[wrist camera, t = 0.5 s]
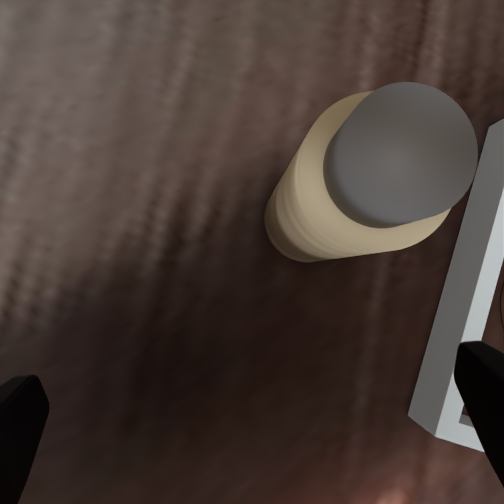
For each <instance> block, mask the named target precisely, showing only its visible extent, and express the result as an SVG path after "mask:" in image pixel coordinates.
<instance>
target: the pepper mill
mask: <svg viewBox="0 0 504 504" xmlns="http://www.w3.org/2000/svg"><path fill="white" fill-rule="evenodd" d="M477 160H478V146H477V140H476V136H475V133H474V129H473V127H472V125H471V123H470V120H469V119H468V117H467V115H466V114H465V112H464V111H463V110H462V109H461V107H460V106H459V105H458V104H457V103H456V102H455V101H454V100H453V99H452V98H450V97H449V96H448V95H446V94H445V93H443V92H442V91H440V90H438V89H436V88H433V87H431V86H428V85H425V84H421V83H414V82H400V83H394V84H390V85H386V86H384V87H381V88H379V89H377V90H375V91H370V92H362V93H358V94H354V95H351V96H349V97H346V98H344V99H342V100H340V101H338V102H336V103H335V104H333V105H332V106H331V107H329V108H328V109H327V110H326V111H325V112H324V113H323V114H322V115H321V116H320V117H319V118H318V119H317V120H316V122H315V123H314V124H313V126H312V128H311V129H310V131H309V133H308V134H307V136H306V138H305V139H304V141H303V143H302V144H301V146H300V148H299V149H298V151H297V153H296V154H295V156H294V158H293V159H292V161H291V163H290V164H289V166H288V168H287V170H286V171H285V173H284V175H283V176H282V178H281V180H280V181H279V183H278V185H277V186H276V188H275V190H274V191H273V193H272V195H271V196H270V198H269V200H268V202H267V205H266V208H265V212H264V226H265V230H266V234H267V236H268V238H269V240H270V242H271V244H272V245H273V246H274V247H275V248H276V249H277V250H278V251H279V252H280V253H281V254H282V255H284V256H286V257H287V258H289V259H292V260H295V261H299V262H316V261H323V260H330V259H337V258H344V257H351V256H358V255H366V254H373V253H380V252H387V251H394V250H400V249H403V248H407V247H410V246H412V245H414V244H416V243H418V242H420V241H422V240H423V239H425V238H426V237H428V236H429V235H430V234H431V233H433V232H434V231H435V230H436V229H437V228H438V227H439V226H440V224H441V223H442V222H443V221H444V219H445V218H446V216H447V215H448V213H449V211H450V209H451V207H452V206H453V205H455V204H456V203H457V202H458V201H459V200H460V199H461V198H462V197H463V196H464V194H465V193H466V191H467V190H468V188H469V187H470V185H471V183H472V181H473V178H474V175H475V172H476V167H477Z"/></svg>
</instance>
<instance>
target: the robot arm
mask: <svg viewBox="0 0 504 504" xmlns="http://www.w3.org/2000/svg"><path fill="white" fill-rule="evenodd" d="M454 380H455V384H456V386H457V389H458V391H459V393H460V396H461V398H462V400H463V403H464V405H465V407H466V410H467V412H468V415H469V417H470V419H471V422H472V424H473V426H474V429H475V431H476V433H477V436H478V438H479V441H480V443H481V445H482V447H483V449H484V452H485V454H486V456H487V458H488V459H489V461H490V463H491V465H492V467H493V469H494V471H495V473H496V474H497V476H498V478H499V480H500V482H501V483H502V485H503V487H504V352H502V351H500V350H498V349H496V348H494V347H492V346H490V345H489V344H487V343H485V342H483V341H465V342H461V343H460V344H459V346H458V349H457V355H456V360H455V366H454ZM48 414H49V401H48V398H47V396H46V394H45V391H44V389H43V387H42V384H41V382H40V379H39V378H38V377H37V376H36V375H33V374H30V375H18V376H15V377H13V378H11V379H10V380H8V381H7V382H5V383H4V384H2V385H1V386H0V504H18V502H19V499H20V497H21V495H22V492H23V490H24V487H25V485H26V482H27V479H28V476H29V473H30V470H31V467H32V464H33V461H34V458H35V455H36V452H37V448H38V445H39V442H40V439H41V436H42V433H43V430H44V426H45V423H46V420H47V417H48Z"/></svg>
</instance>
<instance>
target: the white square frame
mask: <svg viewBox="0 0 504 504" xmlns="http://www.w3.org/2000/svg"><path fill="white" fill-rule="evenodd" d="M503 258H504V119H502V120H501V121H499V122H497V123H495V124H493V125H492V126H490V127H489V129H488V132H487V136H486V139H485V143H484V146H483V150H482V153H481V157H480V160H479V164H478V168H477V171H476V175H475V178H474V182H473V185H472V189H471V192H470V196H469V199H468V203H467V206H466V210H465V214H464V217H463V221H462V224H461V228H460V231H459V235H458V238H457V242H456V245H455V249H454V252H453V256H452V259H451V263H450V267H449V270H448V274H447V277H446V281H445V284H444V288H443V291H442V295H441V298H440V302H439V305H438V309H437V313H436V316H435V320H434V323H433V327H432V330H431V334H430V337H429V341H428V344H427V348H426V351H425V355H424V358H423V362H422V366H421V369H420V373H419V376H418V380H417V383H416V387H415V390H414V394H413V397H412V401H411V404H410V408H409V412H408V415H407V416H409V417H410V418H411V419H413V420H414V421H415V422H417V423H418V424H419V425H420V426H422V427H423V428H424V429H426V430H427V431H428V432H429V433H431V434H432V435H433V436H435V437H438V438H441V439H444V440H447V441H450V442H454V443H457V444H460V445H463V446H467V447H470V448H473V449H476V450H479V451H483V452H484V449H483V447H482V445H481V443H480V441H479V438H478V436H477V433H476V431H475V429H474V426H473V424H472V422H471V419H470V417H469V416H466V415H463V414H461V412H462V408H463V405H464V403H463V400H462V398H461V396H460V393H459V391H458V389H457V386H456V384H455V380H454V366H455V360H456V355H457V349H458V346H459V344H460V343H461V342H465V341H481V339H482V335H483V331H484V328H485V324H486V320H487V317H488V313H489V309H490V306H491V302H492V298H493V295H494V291H495V287H496V284H497V280H498V276H499V273H500V269H501V265H502V262H503ZM501 316H502V322H503V326H504V285H503V290H502V295H501Z"/></svg>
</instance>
